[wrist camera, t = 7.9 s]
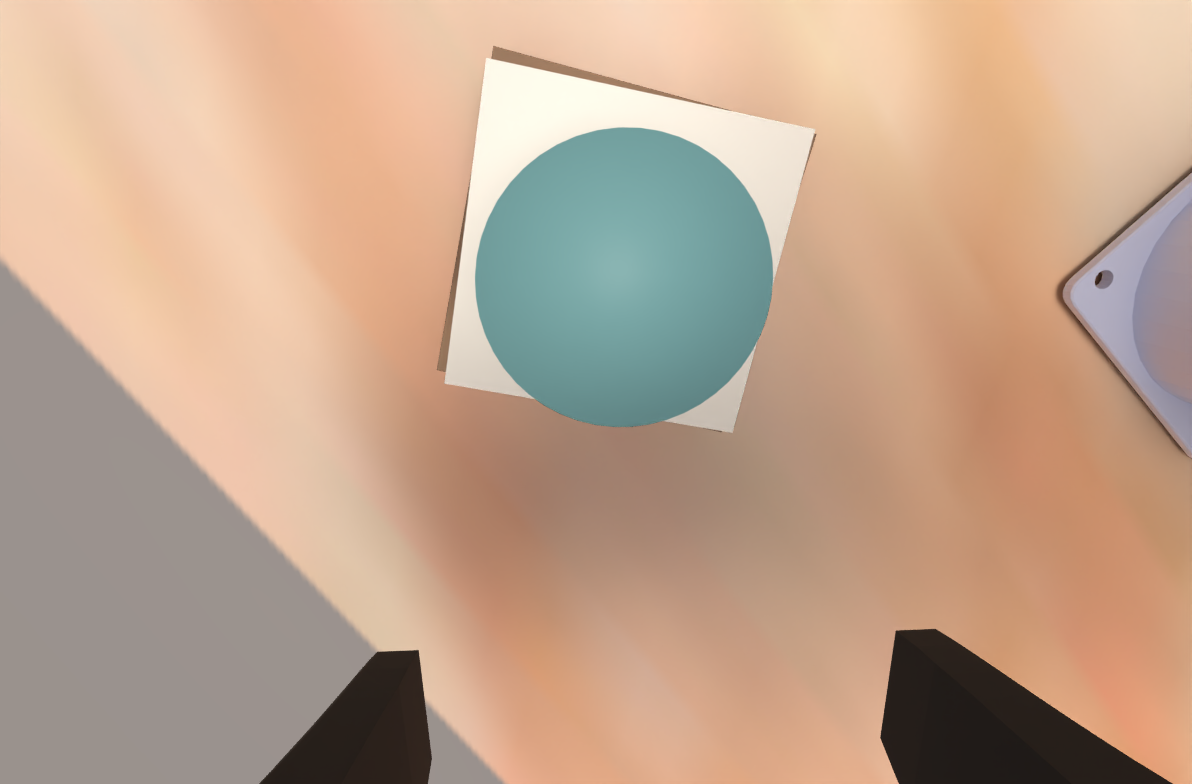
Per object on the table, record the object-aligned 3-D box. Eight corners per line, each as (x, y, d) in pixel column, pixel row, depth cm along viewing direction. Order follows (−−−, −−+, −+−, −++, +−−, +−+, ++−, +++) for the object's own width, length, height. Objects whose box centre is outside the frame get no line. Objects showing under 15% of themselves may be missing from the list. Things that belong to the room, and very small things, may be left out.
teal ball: (599, 95, 13) (614, 52, 9) (753, 245, 14) (834, 274, 10) (461, 264, 14) (413, 301, 10) (614, 393, 15) (633, 478, 11)
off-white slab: (498, 76, 15) (486, 57, 13) (783, 137, 16) (814, 129, 14) (460, 359, 17) (444, 383, 15) (713, 404, 18) (732, 433, 16)
